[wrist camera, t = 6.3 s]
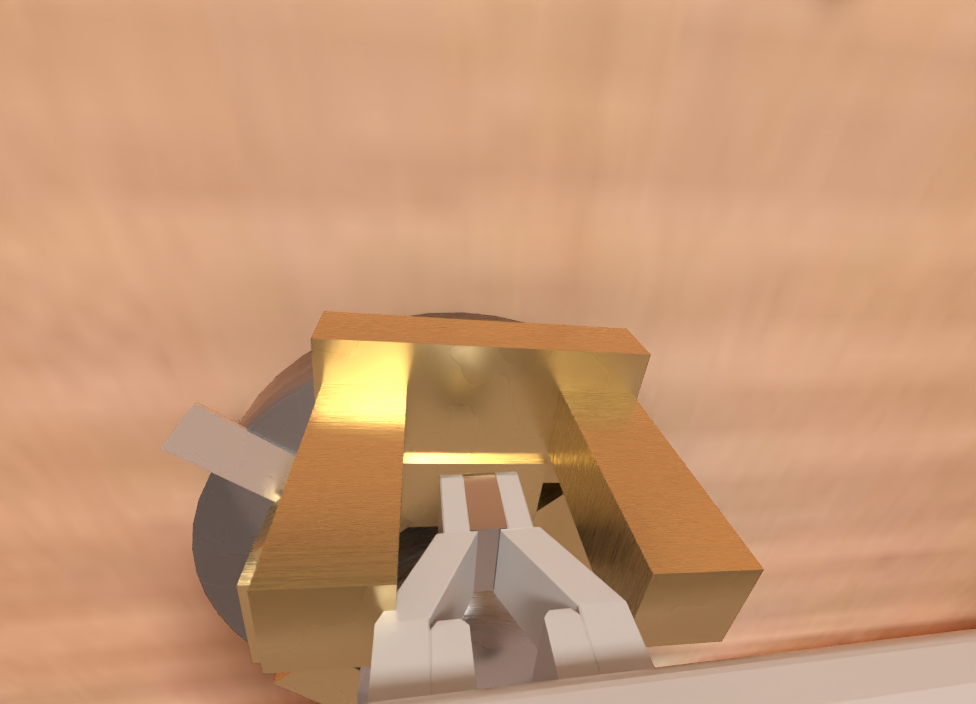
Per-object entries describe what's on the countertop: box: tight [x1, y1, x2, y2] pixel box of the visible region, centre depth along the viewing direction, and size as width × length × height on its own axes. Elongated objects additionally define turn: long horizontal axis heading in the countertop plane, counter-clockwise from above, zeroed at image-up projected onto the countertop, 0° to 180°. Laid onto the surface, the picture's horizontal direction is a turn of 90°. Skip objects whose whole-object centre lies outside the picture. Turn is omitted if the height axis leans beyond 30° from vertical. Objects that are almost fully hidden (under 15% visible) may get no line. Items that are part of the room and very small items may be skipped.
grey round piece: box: [160, 313, 538, 704], centre depth 17 cm, size 18×18×8 cm
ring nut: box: [237, 311, 764, 704], centre depth 13 cm, size 17×13×7 cm
